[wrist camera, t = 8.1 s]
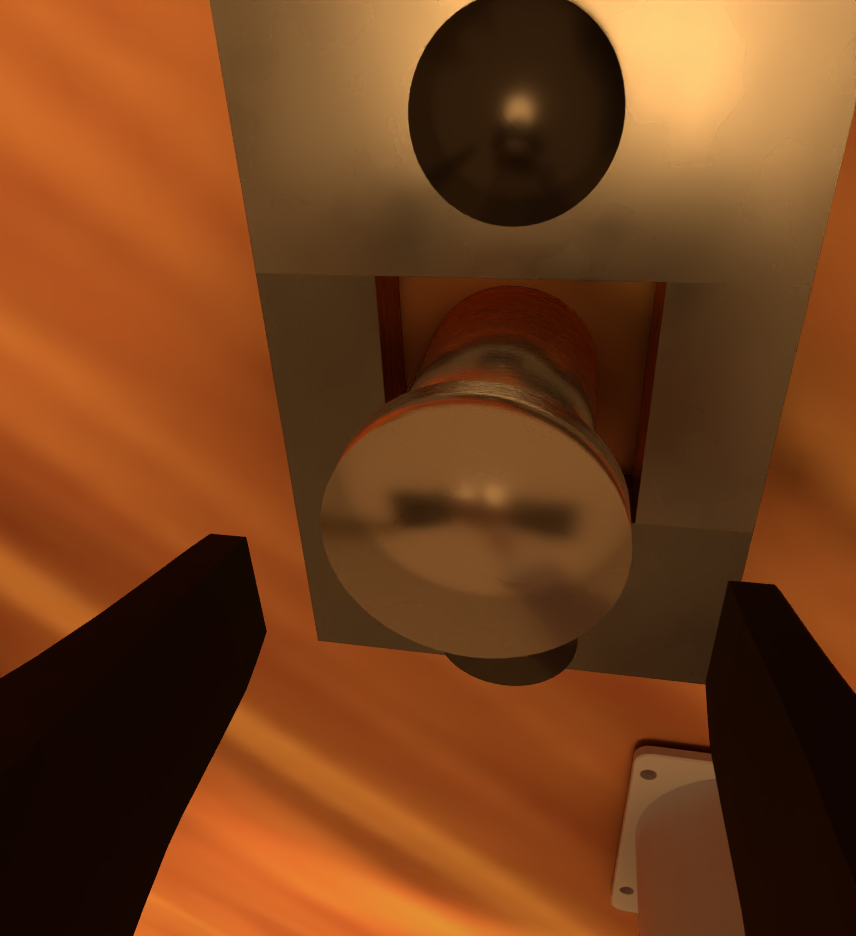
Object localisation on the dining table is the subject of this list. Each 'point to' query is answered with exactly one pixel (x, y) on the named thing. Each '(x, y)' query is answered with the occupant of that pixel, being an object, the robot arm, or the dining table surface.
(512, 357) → the pin
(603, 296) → the dining table surface
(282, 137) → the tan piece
